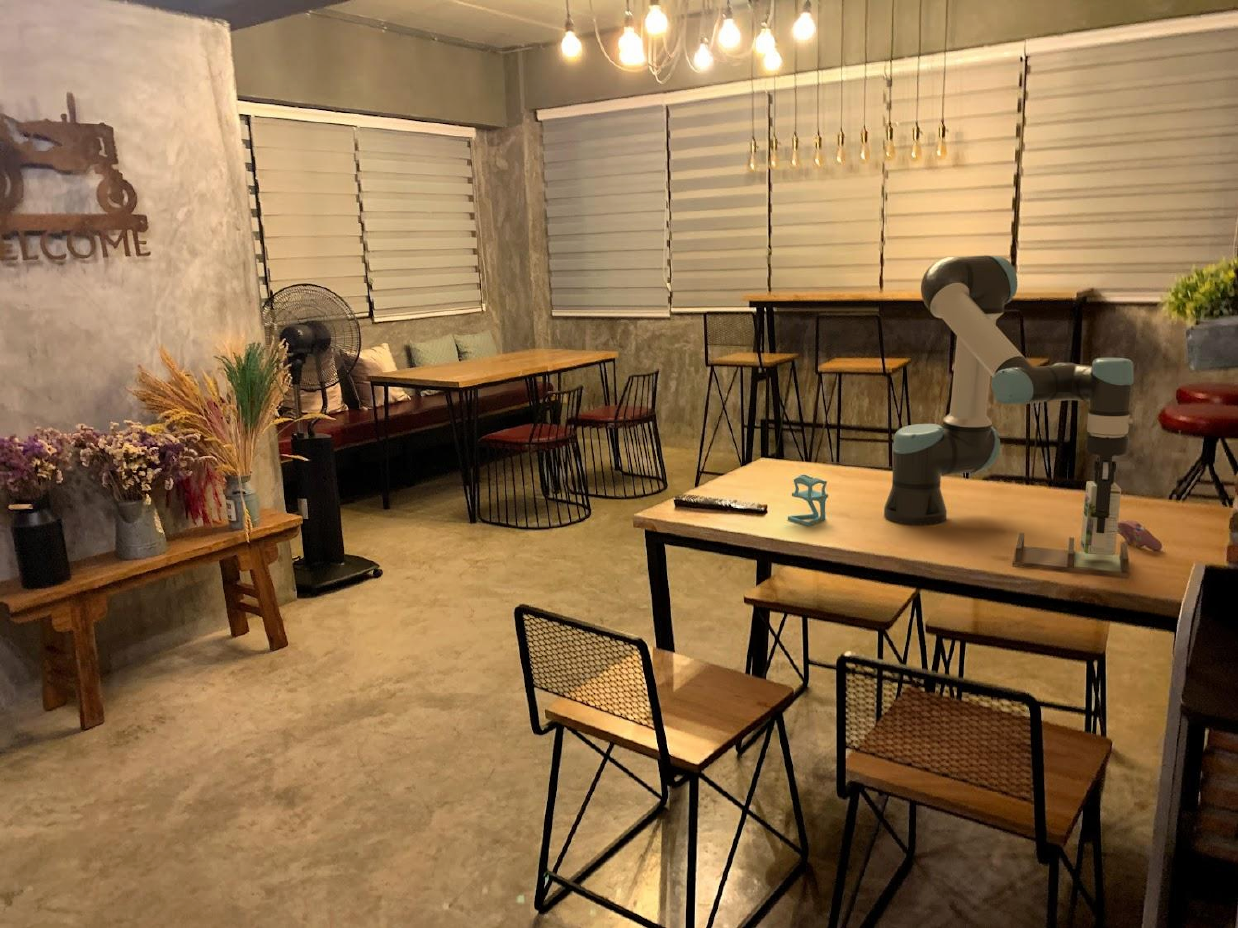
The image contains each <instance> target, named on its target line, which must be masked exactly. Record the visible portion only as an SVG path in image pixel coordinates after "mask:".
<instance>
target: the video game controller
mask: <svg viewBox="0 0 1238 928" xmlns="http://www.w3.org/2000/svg"><path fill="white" fill-rule="evenodd" d="M1117 535H1120V536H1121V537H1123V539H1124V540H1125V543H1127V544H1129V545H1132V544H1133V545H1134V546H1135V547H1136V548H1137V549H1142V548H1144V547H1146V548H1148V549H1150V550H1151V551H1155V552H1160V551H1161V550H1162V549H1163V544H1162V542H1161V541H1160V540H1159V539H1158V538H1156V537H1155V536H1154V535H1153V534H1152V533H1151V532H1150V530H1149V529H1147V528H1146V527H1145V526H1143V525H1141V523H1140V522H1138V521H1135V520H1131V519H1130V520H1128V519H1127V518H1126V519H1124V520H1121V521H1118V528H1117Z"/></svg>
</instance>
